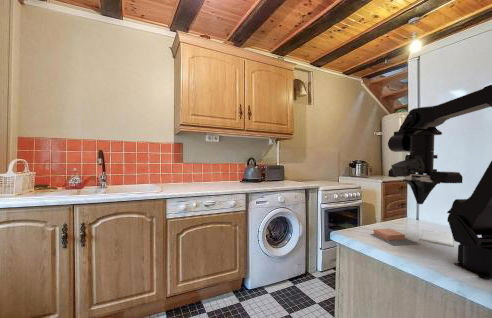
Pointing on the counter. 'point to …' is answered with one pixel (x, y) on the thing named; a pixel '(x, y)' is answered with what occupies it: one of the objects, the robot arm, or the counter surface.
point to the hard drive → (437, 237)
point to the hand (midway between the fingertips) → (419, 204)
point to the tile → (389, 234)
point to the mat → (397, 241)
